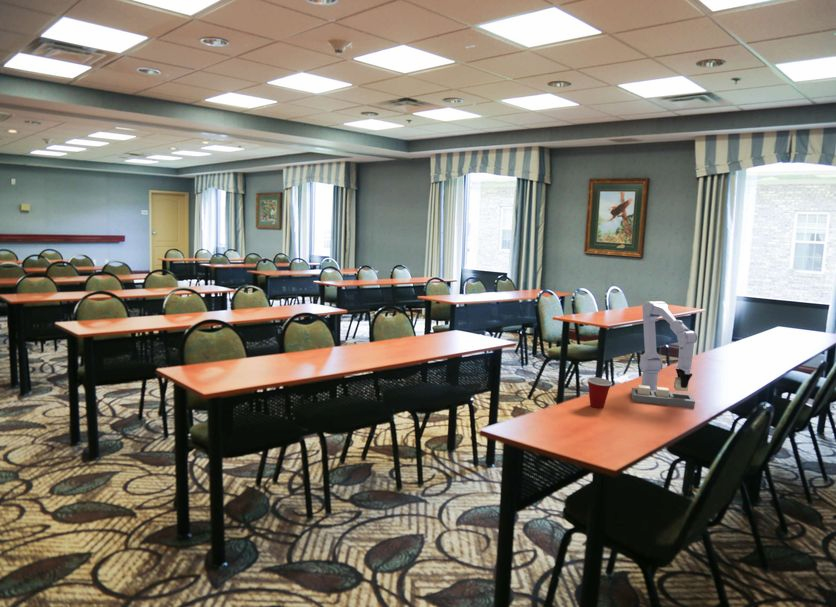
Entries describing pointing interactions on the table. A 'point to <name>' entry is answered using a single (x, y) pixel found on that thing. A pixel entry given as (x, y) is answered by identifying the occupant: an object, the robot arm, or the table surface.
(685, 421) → the table surface
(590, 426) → the table surface
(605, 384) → the plastic cup
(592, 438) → the table surface
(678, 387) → the loose block
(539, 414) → the table surface
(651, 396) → the puzzle board
